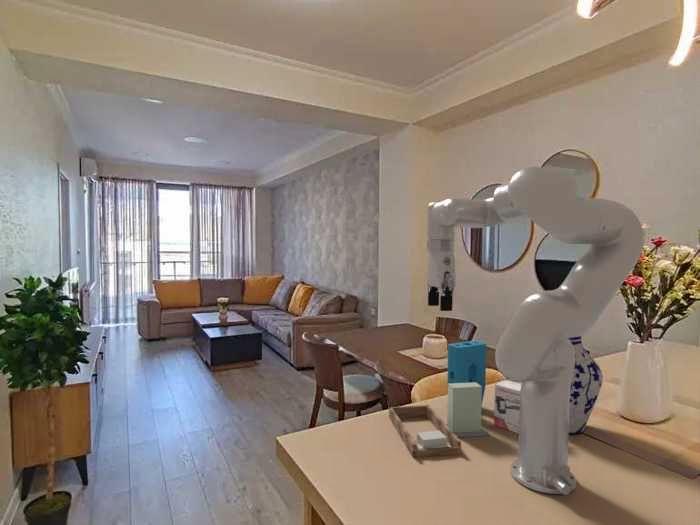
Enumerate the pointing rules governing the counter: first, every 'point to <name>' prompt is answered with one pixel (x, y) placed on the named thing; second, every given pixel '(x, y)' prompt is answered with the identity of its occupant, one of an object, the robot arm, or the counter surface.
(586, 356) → the vase
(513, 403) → the ink box
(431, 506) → the counter surface
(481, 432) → the felt mat
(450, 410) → the sage green box
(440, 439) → the offcut top
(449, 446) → the offcut low
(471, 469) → the counter surface
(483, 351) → the block
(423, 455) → the tray
